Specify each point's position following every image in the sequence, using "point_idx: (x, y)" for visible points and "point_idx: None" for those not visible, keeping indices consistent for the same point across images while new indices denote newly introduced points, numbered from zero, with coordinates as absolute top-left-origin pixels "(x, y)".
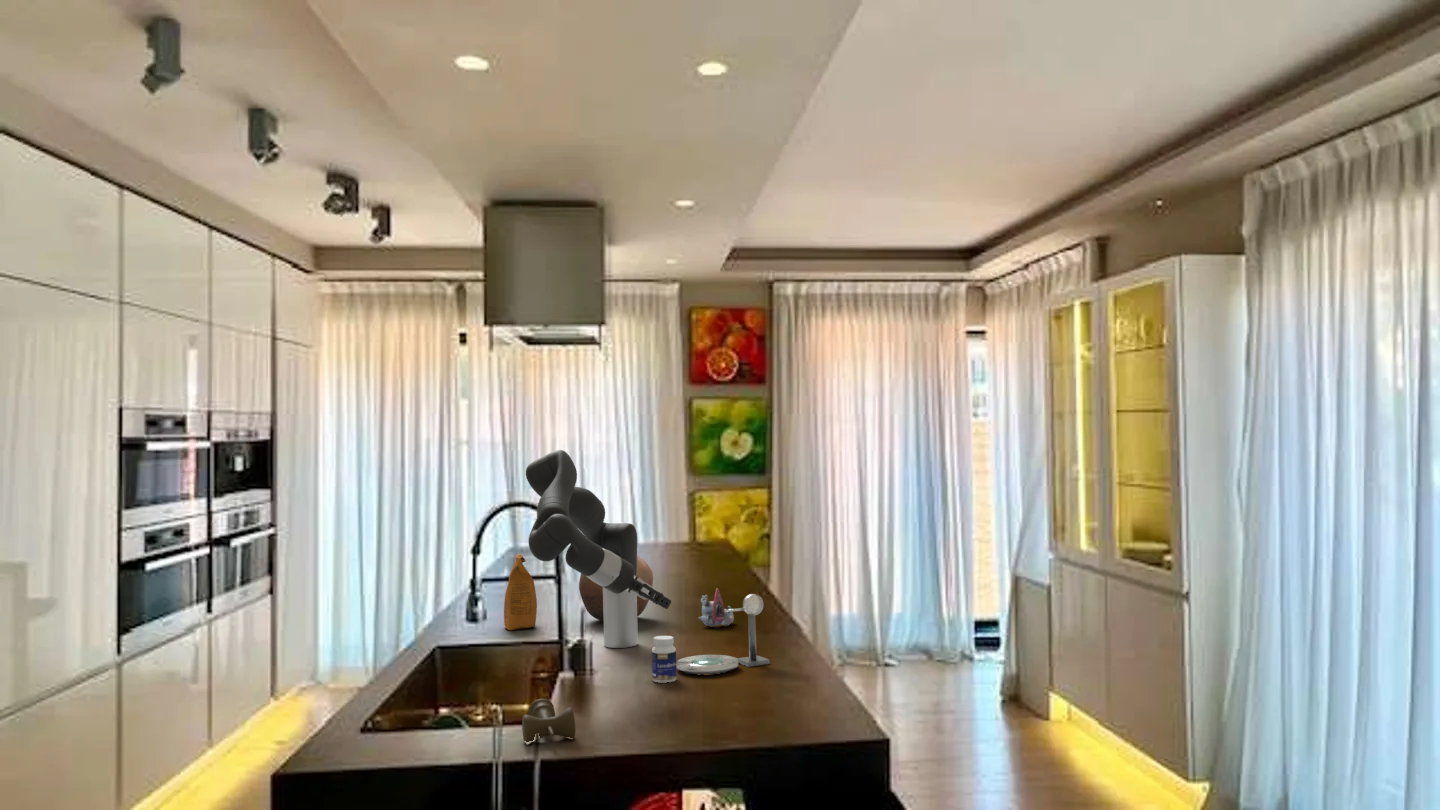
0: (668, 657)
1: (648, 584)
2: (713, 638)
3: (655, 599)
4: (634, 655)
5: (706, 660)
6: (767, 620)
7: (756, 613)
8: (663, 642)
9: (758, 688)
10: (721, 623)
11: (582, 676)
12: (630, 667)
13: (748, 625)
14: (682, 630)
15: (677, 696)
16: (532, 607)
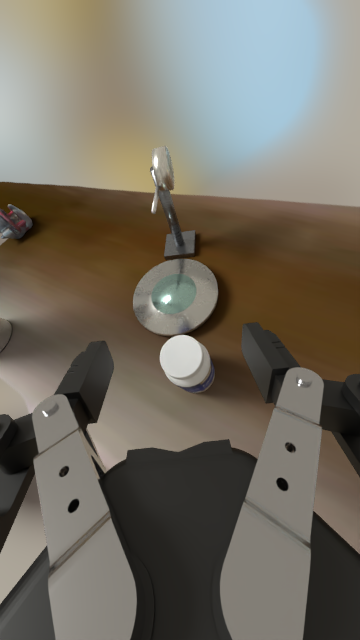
0: (211, 365)
1: (316, 461)
2: (56, 247)
3: (354, 432)
4: (45, 347)
5: (169, 292)
6: (44, 194)
7: (173, 182)
8: (201, 366)
9: (316, 280)
10: (26, 226)
11: None
12: None
13: (166, 208)
14: (6, 261)
15: None
16: None
